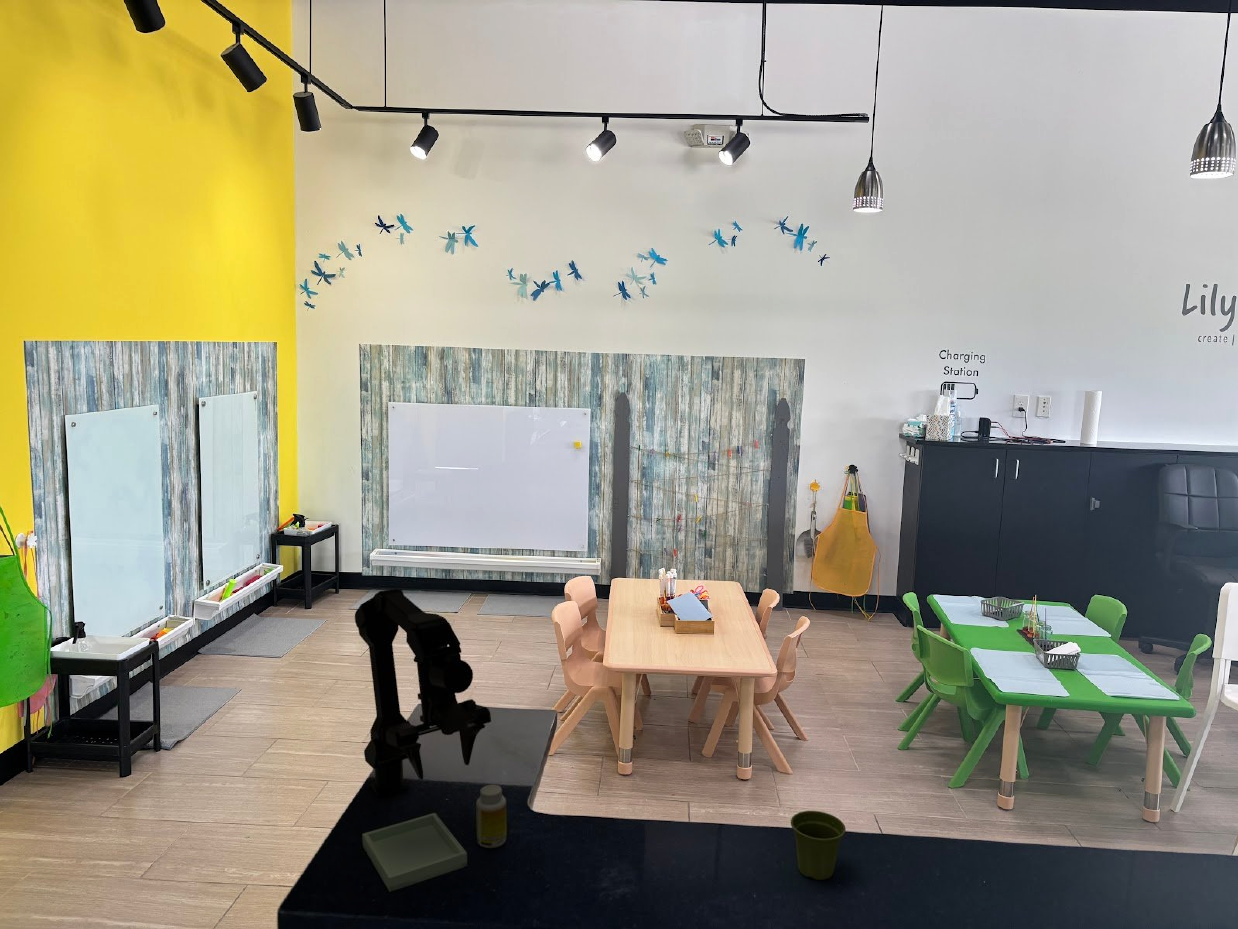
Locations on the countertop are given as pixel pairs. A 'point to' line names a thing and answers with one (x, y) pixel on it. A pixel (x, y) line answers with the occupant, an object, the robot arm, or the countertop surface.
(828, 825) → the plant pot
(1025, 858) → the countertop surface
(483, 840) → the supplement bottle
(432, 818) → the tray
